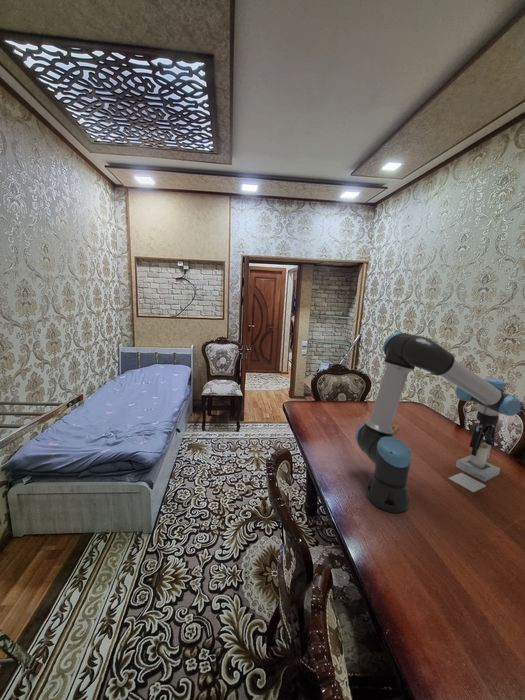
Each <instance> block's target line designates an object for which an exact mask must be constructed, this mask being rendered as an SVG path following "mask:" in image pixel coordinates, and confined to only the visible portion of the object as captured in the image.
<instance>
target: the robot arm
mask: <svg viewBox="0 0 525 700" xmlns="http://www.w3.org/2000/svg"><path fill="white" fill-rule="evenodd" d="M382 352H384V353H383V354H384V355H385V357H384V361H383V362H384V364H385V366H386V367H385V371H384V373H383V377H382V380H381V383H380V387H379V389H378V392H377V396H376V399H375V402H374V405H373V408H372V412H371V413H370V414H371V415H370V418H369V419H367V420H365V422H364V424H362V425H361V426H359V427H358V428H357V430H356V432H355V441H356V443H357V446H358V447H359V449H360V450H361V451H362V452H363V453H364V454H365V455H366V456H367V457H368V459H370V461H371V462H373V463H374V472H373V477H372V478H371V480H370V482H369V483H368V485H367V488H366V496H367V498H368V500H369V502H370V503H372V505H374V506H375V507H377V508H379V509H381V510H382V511H386V512H388V513H394V514H399V513H404V512H406V511H408V509H409V507H410V498H409V493H408V489H407V484H408V483H407V482H408V479H409V477H408V476H409V473H410V465H411V462H412V461H411V460H412V459H411V458H412V457H411V456H412V451H411V449H410V447H409V446H408V444H406V443H405V442H404V441H402V440H401V439H398V438H396V437H394V436H392V435H393V430H392V428H391V425H392V423H394V422H393V421H394V418H395V415H396V412H397V408H398V406H399V404H400V400H401V397H402V394H403V391H404V388H405V384H406V382H407V378H408V375H409V373H410V372H413V371H414V370H415V368H419V369H421V370H424V371H427V372H429V373H431V375H433V376H437V377H438V376H440V377H441V378H443V379H445V380H446V381H449V382H450V383H451V384H453V385H454V386H456V388H455V395H456V398H458V399H459V400H460V401H462V402H463V401H465V402H473V403H475V404H476V405H477V404H478V407H477V410H478V411H477V414H476V420H477V421H479V423H478V425H475V426H474V429H473V433H472V435H471V438H470V439H471V440H470V442H469V448H471V450H470V451H471V452H470V455H469V456H470V461H472V462H475V463H477V461H478V456H479V451H480V449H479V447H480V445H481V443H482V442H483V441H484V442H483V443H482V444H485V445H487V446H488V448H489V449H488V454H487V459H486V460H488V459H489V458H490V454H491V453H490V452H491V448H492V446H495V439H496V428H497V424H498V422H499V418H500V416H499V415H505V416H509V417H513V416H515V415H517V414H518V413H519V411H520V410H521V407H522V404H521V401H520V399H518V398H517V397H514V396H512V395H509V394H506V393H505V387H506V382H504V381H503V380H501V379H498V378H492V377H486V378H482V377H481V376H480V375H478V374H476V373H475V372H474V371H473V370H471V369H469V368H468V367H466V366H465V365H463V364H462V363H461V362H459V361H458V360H456V357H455V356H454V355H453V353H451V352H450V351H448V350H447V349H445V348H444V347H443V346H441V345H439V344H438V343H437V342H435V341H433V340H431V339H430V338H428V337H425V336H423V335H421V336H420V335H415V334H411V333H406V332H395V333H393V334H391V335H389V336H388V337H387V338H386V339H385V341H384V342H383V346H382Z"/></svg>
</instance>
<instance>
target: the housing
mask: <svg viewBox="0 0 525 700" xmlns="http://www.w3.org/2000/svg"><path fill="white" fill-rule="evenodd" d="M471 462H472V461H470V455H467V456H465V457H462V458H459V459H457V460H456V463H455V468H457V469H459V470H461V471H462V472H465V473H467V474H469V475H471V476H473V477H475V478H476V479H478V480H480V481H482V482H487V481H489V480H491V479H493V478H494V477H497V476H498V475H500V472H501V468H500V467H499V466H496V465H494V464H492V463H489V462H487V461H486V464H485V469H484V470H482V469H479V468H477V467H475V466H473V465H471Z"/></svg>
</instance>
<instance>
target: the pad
mask: <svg viewBox="0 0 525 700" xmlns="http://www.w3.org/2000/svg"><path fill="white" fill-rule="evenodd" d="M447 478H448V480H450V481H452V482H453V483H455V484H457V485H459V486H461V487H462V488H464V489H466V490H468V491H470V492H471V493H475V492H477V491H479V490H481V489H483V488H486V487H487V484H485V483H482V482H480V481H478V480H476V479H474V478H473V477H471V476H469V475H467V474H465V473H463V472H459V473H457V474H455V475H452V476H450V477H449V476H448V477H447Z"/></svg>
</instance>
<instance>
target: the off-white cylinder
mask: <svg viewBox="0 0 525 700" xmlns="http://www.w3.org/2000/svg"><path fill="white" fill-rule="evenodd" d="M479 449H480V451H479V456H478V461H477V463H475V462H471V465H473V466H475V467H477V468H479V469H482V470H484V469H485V464H486V462H487V460H488V459H487V454H488V449H489V448H488V446H487V445H485V444H483V443H482V442H481V445H480V447H479Z"/></svg>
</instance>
